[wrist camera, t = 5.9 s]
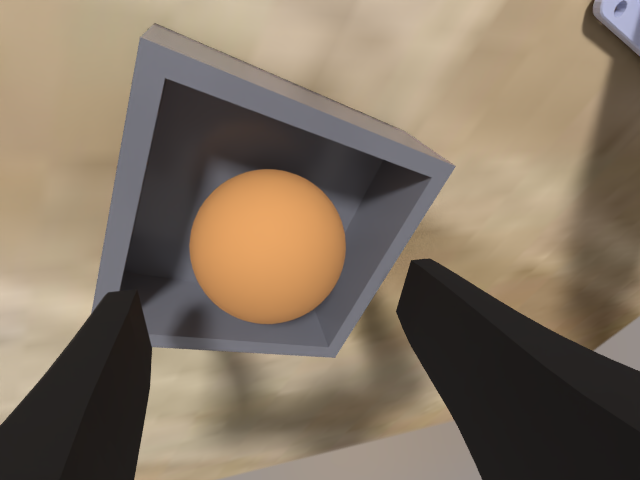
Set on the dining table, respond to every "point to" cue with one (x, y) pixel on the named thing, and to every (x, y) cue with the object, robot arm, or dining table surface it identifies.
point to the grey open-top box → (239, 157)
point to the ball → (267, 246)
